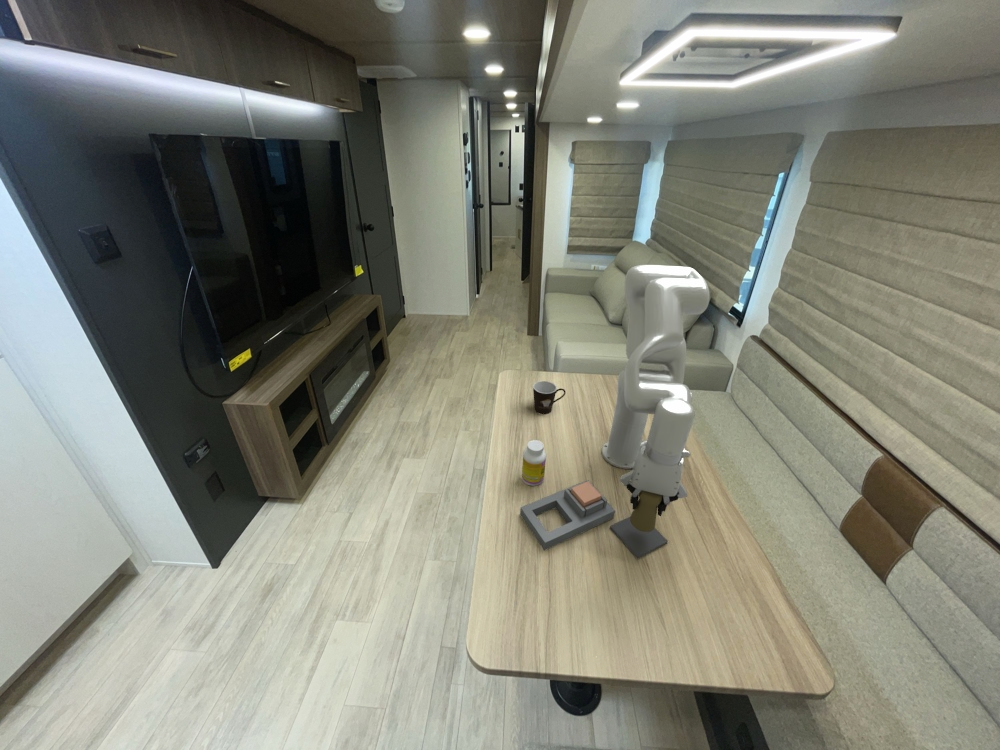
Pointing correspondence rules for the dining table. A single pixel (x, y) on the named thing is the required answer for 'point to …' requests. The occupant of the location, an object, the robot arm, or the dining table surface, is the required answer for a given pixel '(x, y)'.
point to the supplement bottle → (533, 463)
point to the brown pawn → (645, 511)
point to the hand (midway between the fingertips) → (646, 507)
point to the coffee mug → (545, 396)
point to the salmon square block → (586, 494)
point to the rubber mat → (638, 538)
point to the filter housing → (565, 516)
